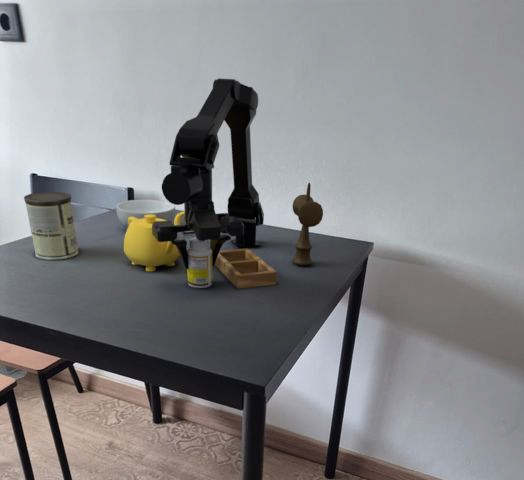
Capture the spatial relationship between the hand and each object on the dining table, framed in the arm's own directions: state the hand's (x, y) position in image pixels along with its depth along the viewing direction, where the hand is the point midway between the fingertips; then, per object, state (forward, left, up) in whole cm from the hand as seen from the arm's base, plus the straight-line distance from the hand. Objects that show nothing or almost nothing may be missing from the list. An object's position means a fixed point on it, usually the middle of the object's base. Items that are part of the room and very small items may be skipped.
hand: (199, 267), depth 106 cm
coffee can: (-30, -28, -4) cm, 41 cm away
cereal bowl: (-46, -2, -4) cm, 46 cm away
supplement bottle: (0, 0, -4) cm, 4 cm away
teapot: (-17, -5, -4) cm, 18 cm away
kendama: (-6, +29, -4) cm, 30 cm away
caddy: (-4, +12, -4) cm, 13 cm away
